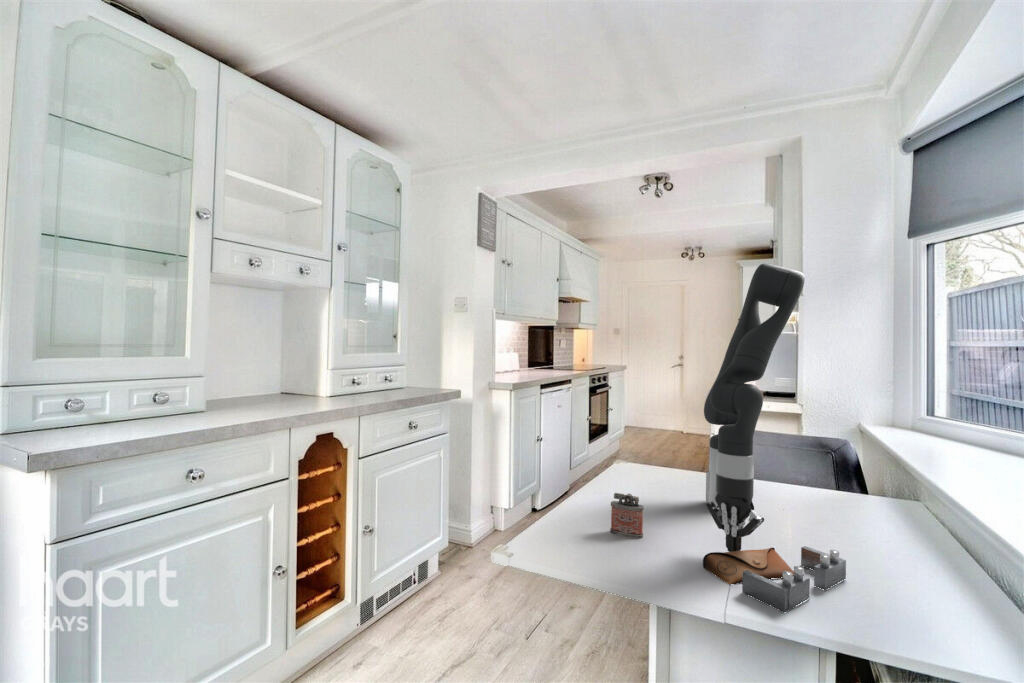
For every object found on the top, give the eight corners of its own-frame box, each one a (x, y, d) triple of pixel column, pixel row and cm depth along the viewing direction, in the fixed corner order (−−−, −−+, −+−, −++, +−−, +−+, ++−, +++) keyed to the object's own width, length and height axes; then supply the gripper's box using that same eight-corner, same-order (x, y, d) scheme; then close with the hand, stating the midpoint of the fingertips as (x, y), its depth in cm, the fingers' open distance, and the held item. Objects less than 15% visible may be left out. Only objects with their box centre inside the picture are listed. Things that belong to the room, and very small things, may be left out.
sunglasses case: (728, 586, 95) (717, 549, 98) (708, 589, 100) (699, 554, 104) (804, 577, 99) (791, 542, 102) (780, 580, 105) (769, 548, 108)
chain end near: (742, 592, 92) (742, 561, 92) (767, 581, 97) (767, 551, 97) (784, 612, 85) (785, 579, 86) (809, 599, 90) (809, 567, 90)
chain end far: (783, 574, 100) (783, 545, 100) (804, 564, 105) (804, 536, 105) (825, 591, 93) (825, 560, 93) (845, 579, 98) (846, 550, 98)
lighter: (644, 535, 119) (645, 494, 119) (641, 540, 116) (642, 498, 116) (612, 529, 123) (612, 490, 123) (608, 533, 120) (609, 493, 120)
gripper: (773, 478, 103) (772, 559, 103) (718, 464, 114) (716, 537, 114) (753, 483, 99) (752, 567, 99) (698, 468, 110) (696, 544, 110)
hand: (733, 551), depth 106 cm, fingers closed
